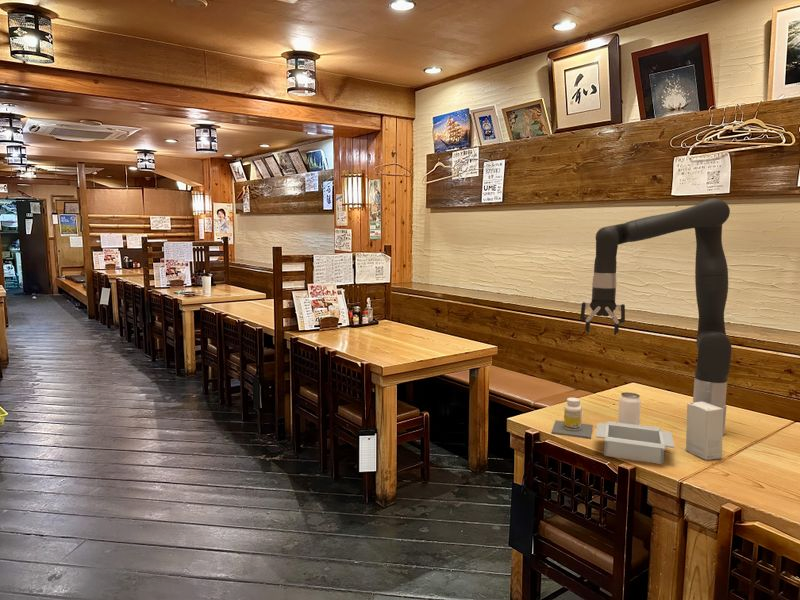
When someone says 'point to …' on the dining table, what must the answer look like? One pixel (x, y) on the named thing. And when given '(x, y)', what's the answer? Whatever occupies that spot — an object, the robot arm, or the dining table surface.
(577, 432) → the mat
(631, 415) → the can
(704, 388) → the robot arm
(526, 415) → the dining table surface
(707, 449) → the skincare box
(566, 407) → the supplement bottle
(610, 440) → the carton
